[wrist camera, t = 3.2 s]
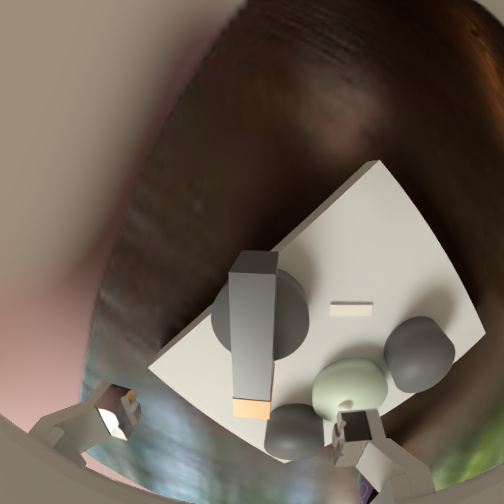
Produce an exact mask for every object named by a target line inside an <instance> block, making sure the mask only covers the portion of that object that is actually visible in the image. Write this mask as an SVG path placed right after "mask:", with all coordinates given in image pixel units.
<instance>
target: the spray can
mask: <svg viewBox="0 0 504 504" xmlns="http://www.w3.org/2000/svg"><path fill="white" fill-rule="evenodd" d="M356 469H357V468H356ZM357 477H358V486H359V495H360V504H370V503H371V502H372V501H373V499H374V498H375V497H376V496H377V495H378V494H379V492H378V491H377V490H376V489H375V488H374V487H373V486H372V485H371V484H370V483H369V481H368V480H367V479H366V478H365V477H364V476H363V475H362V474H361V472H360V471H359V470H358V469H357Z"/></svg>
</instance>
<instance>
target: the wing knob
mask: <svg viewBox="0 0 504 504" xmlns="http://www.w3.org/2000/svg"><path fill="white" fill-rule="evenodd" d="M278 262H279V252H277V251H250V250H242V251H241V253H240V255H239V256H238V258H237V259H236V261H235V263H234V264H233V266H232V267H231V269H230V271H229V279H228V280H227V281H226V283H225V284H224V285H223V287H222V289H221V291H220V292H219V294H218V296H217V297H216V299H215V301H214V303H213V306H212V310H211V324H212V328H213V331H214V333H215V335H216V337H217V339H218V340H219V342H220V343H221V344H222V345H223V346H224V347H225V348H226V349H227V350H228V351H230V352H231V356H232V377H233V414H234V416H236V417H246V418H256V419H269V418H270V410H271V401H272V392H273V383H274V369H275V363H274V361H277V360H280V359H283V358H285V357H287V356H289V355H291V354H292V353H293V352H295V351H296V350H297V349H298V348H299V347H300V346H301V345H302V343H303V342H304V340H305V338H306V336H307V334H308V331H309V323H310V319H309V310H308V302H307V297H306V294H305V292H304V290H303V288H302V286H301V285H300V284H299V282H298V281H297V280H296V279H295V278H294V277H293V276H291V275H290V274H288V273H287V272H285V271H283V270H281V269H278Z"/></svg>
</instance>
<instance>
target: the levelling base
mask: <svg viewBox="0 0 504 504" xmlns="http://www.w3.org/2000/svg"><path fill="white" fill-rule="evenodd" d="M271 251H277V252H279V262H278V269H281V270H283V271H285V272H287V273H288V274H290V275H291V276H293V277H294V278H295V279H296V280H297V281H298V282H299V284H300V285H301V286H302V288H303V290H304V292H305V294H306V297H307V302H308V310H309V319H310V323H309V331H308V334H307V336H306V338H305V340H304V342H303V343H302V345H301V346H300V347H299V348H298V349H297V350H296V351H295V352H293V353H292V354H291V355H289V356H287V357H285V358H283V359H280V360H277V361H274V363H275V369H274V383H273V392H272V401H271V410H270V418H269V419H256V418H246V417H236V416H234V414H233V377H232V356H231V352H230V351H228V350H227V349H226V348H225V347H224V346H223V345H222V344H221V343H220V342H219V340H218V339H217V337H216V335H215V333H214V331H213V328H212V324H211V310H212V306H213V303H212V304H211V305H210V306H209V307H208V308H207V309H206V310H205V311H204V312H202V313H201V314H200V315H199V316H198V317H197V318H196V319H195V320H193V321H192V322H191V323H190V324H189V325H188V326H187V327H186V328H184V329H183V330H182V331H181V332H180V333H179V334H178V335H177V336H175V337H174V338H173V339H172V340H171V341H170V342H169V343H168V344H166V345H165V346H164V347H163V348H162V349H161V350H160V351H159V353H158V354H157V355H156V357H155V358H154V360H153V361H152V363H151V364H150V365H149V367H148V368H149V369H150V370H151V371H152V372H153V373H154V374H156V375H157V376H158V377H159V378H160V379H161V380H163V381H164V382H165V383H166V384H167V385H169V386H170V387H171V388H172V389H173V390H175V391H176V392H177V393H178V394H180V395H181V396H182V397H184V398H185V399H186V400H187V401H189V402H190V403H191V404H193V405H194V406H195V407H197V408H198V409H199V410H201V411H202V412H203V413H205V414H206V415H208V416H209V417H210V418H212V419H213V420H215V421H216V422H217V423H219V424H220V425H222V426H223V427H225V428H226V429H228V430H229V431H231V432H232V433H234V434H235V435H237V436H239V437H240V438H242V439H243V440H245V441H247V442H248V443H250V444H251V445H253V446H255V447H256V448H258V449H260V450H262V451H263V452H265V453H267V454H269V455H270V456H272V457H274V458H276V459H277V460H279V461H281V462H283V463H286V462H289V461H292V460H303V459H307V458H310V457H313V456H315V455H317V454H318V453H319V452H321V451H322V449H323V448H324V446H326V445H328V444H331V443H332V432H333V427H334V424H335V423H337V418H336V417H337V414H338V412H339V411H349V410H362V409H363V410H364V409H375V408H376V409H377V410H378V412H379V416H382V415H384V414H385V413H387V412H388V411H390V410H391V409H393V408H395V407H396V406H398V405H399V404H401V403H402V402H404V401H405V400H407V399H408V398H409V397H411V396H412V395H414V394H415V393H418V392H422V391H425V390H427V389H429V388H431V387H433V386H434V385H436V384H437V383H438V382H439V381H441V380H442V379H443V378H444V377H445V375H446V374H447V373H448V372H449V370H450V368H451V367H452V365H453V363H455V362H456V361H457V360H458V359H459V358H460V357H461V356H462V355H464V354H465V353H466V352H467V351H468V350H469V349H470V348H471V347H472V346H473V345H474V344H475V343H476V342H477V341H479V340H480V339H481V338H482V337H483V336H484V335H485V334H486V333H485V331H484V329H483V326H482V324H481V322H480V319H479V317H478V315H477V313H476V310H475V308H474V306H473V304H472V302H471V300H470V298H469V296H468V294H467V292H466V290H465V288H464V286H463V284H462V282H461V280H460V278H459V276H458V274H457V272H456V271H455V269H454V267H453V265H452V263H451V262H450V260H449V258H448V256H447V255H446V253H445V251H444V250H443V248H442V246H441V245H440V243H439V241H438V240H437V238H436V237H435V235H434V233H433V232H432V230H431V229H430V227H429V226H428V224H427V223H426V221H425V220H424V218H423V217H422V215H421V214H420V212H419V211H418V209H417V208H416V207H415V205H414V204H413V202H412V201H411V200H410V198H409V197H408V195H407V194H406V193H405V191H404V190H403V189H402V187H401V186H400V185H399V183H398V182H397V181H396V180H395V178H394V177H393V176H392V174H391V173H390V172H389V171H388V169H387V168H386V167H385V166H384V165H383V163H382V162H381V161H380V160H375V161H368V162H366V163H365V164H364V165H363V166H362V167H361V168H360V169H359V170H357V171H356V172H355V173H354V174H353V175H352V176H351V177H350V178H349V179H348V180H347V181H346V182H345V183H344V184H343V185H341V186H340V187H339V188H338V189H337V190H336V191H335V192H334V193H333V194H332V195H331V196H330V197H329V198H327V199H326V200H325V201H324V202H323V203H322V204H321V205H320V206H319V207H318V208H317V209H316V210H315V211H313V212H312V213H311V214H310V215H309V216H308V217H307V218H306V219H305V220H304V221H303V222H302V223H300V224H299V225H298V226H297V227H296V228H295V229H294V230H293V231H292V232H291V233H290V234H288V235H287V236H286V237H285V238H284V239H283V240H282V241H281V242H280V243H279V244H278V245H276V246H275V247H274V248H273V249H272V250H271Z"/></svg>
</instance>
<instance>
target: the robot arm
mask: <svg viewBox="0 0 504 504" xmlns="http://www.w3.org/2000/svg"><path fill="white" fill-rule="evenodd" d="M136 397H137V396H136V393H135V391H134V390H131V389H128V388H125V387H121V386H118V385H115V384H111V383H108V382H105V381H104V382H101V383H100V384H99V386H98V387H97V388H96V389H95V390H94V392H93V393H92V394H91V395H90V397H89V398H88V399H87V400H86V401H85V403H83V402H81V403H78V404H76V405H73V406H71V407H68V408H65V409H63V410H60V411H57V412H54V413H52V414H49V415H46V416H43V417H42V418H40V420H39V421H38V422H37V423H36V424H35V425H34V427H33V428H32V429H31V430H30V431H29V433H26V432H25V431H23V430H22V429H20V428H19V427H18V426H16V425H15V424H14V423H12V422H11V421H10V420H8V419H7V418H6V417H4V416H3V415H2V414H0V504H194V503H189V502H185V501H180V500H176V499H173V498H169V497H165V496H162V495H158V494H155V493H151V492H148V491H145V490H142V489H139V488H136V487H133V486H130V485H128V484H125V483H122V482H120V481H117V480H115V479H112V478H110V477H107V476H105V475H102V474H100V473H98V472H96V471H94V470H92V469H89V468H87V467H85V465H86V461H85V460H84V458H83V457H82V456H81V453H83V452H84V451H86V450H88V449H90V448H91V447H93V446H95V445H96V444H98V443H100V442H101V441H103V440H105V439H106V438H108V437H110V435H112V436H115V437H118V438H121V439H124V440H127V439H128V438H129V436H130V434H131V433H132V431H133V428H132V425H134V424H136V423H137V422H138V420H139V418H140V414H141V407H140V404H139V403H138V402H137V401H136V400H135V398H136ZM336 418H337V423H335V424H334V427H333V432H332V445H333V446H334V447H335V451H334V454H333V456H334V466H335V467H345V466H356V468H357V469H358V470H359V471H360V472H361V474H362V475H363V476H364V477H365V478H366V479H367V480H368V481H369V483H370V484H371V485H372V486H373V487H374V488H375V489H376V490H377V491H378V492H379V494H378V495H377V496H376V497H375V498H374V499H373V501H372V502H371V503H370V504H504V463H503V464H500V465H498V466H497V467H495V468H493V469H491V470H489V471H487V472H485V473H482V474H480V475H478V476H476V477H474V478H471V479H469V480H466V481H464V482H462V483H459V484H456V485H454V486H451V487H448V488H446V489H443V490H440V491H437V492H436V490H435V487H434V483H433V480H432V477H431V474H430V471H429V468H428V467H427V466H426V465H424V464H423V463H422V462H420V461H419V460H418V459H416V458H415V457H414V456H412V455H411V454H410V453H408V452H407V451H406V450H404V449H403V448H402V447H401V446H399V445H398V444H397V443H395V442H394V441H393V440H392V439H390V438H386V436H385V433H384V429H383V426H382V422H381V419H380V416H379V412H378V410H377V409H376V408H375V409H364V410H363V409H362V410H349V411H339V412H338V414H337V417H336Z"/></svg>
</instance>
